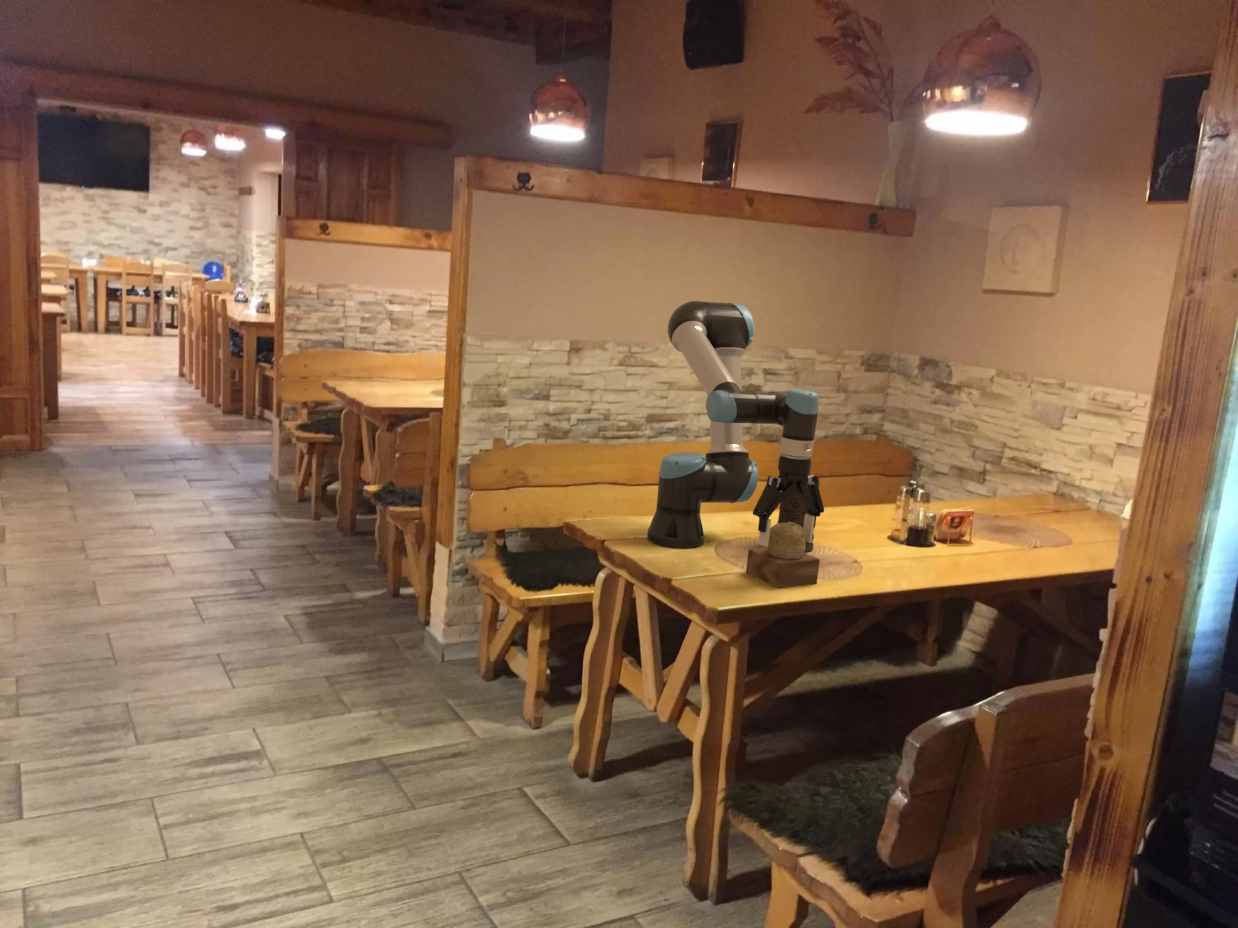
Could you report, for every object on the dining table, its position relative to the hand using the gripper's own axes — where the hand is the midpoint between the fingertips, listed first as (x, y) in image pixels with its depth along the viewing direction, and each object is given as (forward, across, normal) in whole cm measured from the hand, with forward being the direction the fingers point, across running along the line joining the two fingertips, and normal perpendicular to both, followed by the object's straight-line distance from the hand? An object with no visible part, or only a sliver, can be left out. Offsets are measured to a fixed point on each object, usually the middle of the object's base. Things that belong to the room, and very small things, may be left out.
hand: (785, 543), depth 233 cm
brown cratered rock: (+3, 0, 0) cm, 3 cm away
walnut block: (+9, 0, 0) cm, 9 cm away
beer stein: (+9, +24, +23) cm, 34 cm away
